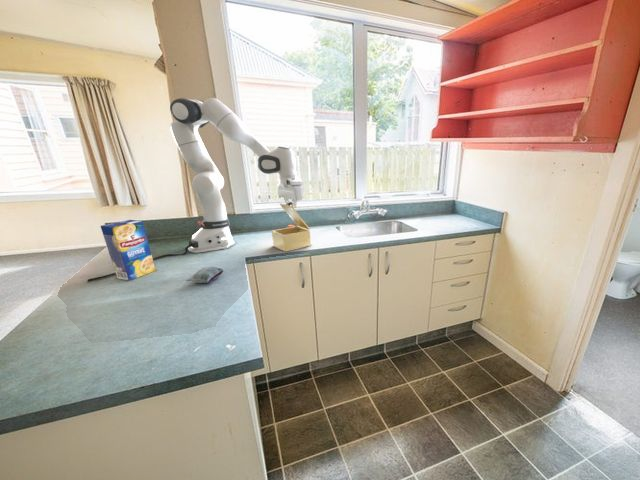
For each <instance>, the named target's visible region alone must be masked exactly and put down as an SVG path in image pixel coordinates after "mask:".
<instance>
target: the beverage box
mask: <svg viewBox="0 0 640 480" xmlns="http://www.w3.org/2000/svg"><path fill="white" fill-rule="evenodd" d="M100 229H101V233H102V235H103V238H104V242H105V244H106V248H107V251H108V254H109V257H110V260H111V264H112V266H113V269H114V273H116V275H115V276H116V278H117V279H119V280H123V281H124V280H125V281H132V280H135V279H138V278H140V277H142V276H145V275H148V274H150V273H153V272H156V271H157V270H156V266H155V262H154V260H153V258H154V257H153V255H152V251H151V247H150V244H149V239H148V236H147V232H146V229H145V225H144V222H143V220H136V219H128V220H123V221H117V222H112V223H107V224H103V225H100Z"/></svg>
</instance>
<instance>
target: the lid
mask: <svg viewBox="0 0 640 480" xmlns="http://www.w3.org/2000/svg"><path fill="white" fill-rule="evenodd" d="M292 204H293V202H292V201H289V204H288V205H286V203H285V204H284V203H279V205H280V207H281V208H282V209H283V210H284V212H286V214H287V215H288V216H289V218H290V219H291V220H292V222H293V223H294V225H295V226H299V227H302V228H304V229H307V230H310V231H311V227H309V226H308V224H307V222H305V221H304V219H303V218H302V217H301V215H300V214H299V212H298V211H297V209H296V208H293V207H292Z"/></svg>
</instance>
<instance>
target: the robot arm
mask: <svg viewBox="0 0 640 480" xmlns="http://www.w3.org/2000/svg"><path fill="white" fill-rule="evenodd" d="M169 111H170V114H171V116H172V117H173V118H174V120H173V121H171V123H170V131H171V134H172V137H173V140H174V142H175V144H176V146H177V149H178V150H179V153H180V154H181V156H182V158H183V161H184V162H185V163H186V165H187V166H188V167H189V168H190V169H191V171H193V173H194V174H195V176H194V177H193V179H192V180H191V187H192V189H193V190H194V192H195V194H196V196H197V199H198V202H199V204H200V207H201V212H202V217H203V220H202V221H201V220H198V221H197V225H198V226H200V228H199V230H197V231H196V232H195V233H194V234H192V236H191V240H188V245H187V246H186V247H185V249H184V250H185V252H183V253H167V254H162V255H158V256H155V257H152V258H153V261H154V260H158V259H160V258H165V257H175V256H183V255H186V254H188V251H189V252H190V253H193V254H199V253H205V252H206V253H207V252H212V251H213V252H214V251H219V250H225V249H226V250H227V249H229V248H230V247H232V246H233V245H235V243H236V242H235V240H234V239H233V235H232V233H231V229H230V228H231V225H230V220H229V218H228V214H227V208H226V203H225V201H224V199H223V196H222V192H221V190H222V189H223V188H224V186H225V179H224V176H223V175H222V174H221V173H220V171H219V169H218V167H217V166H216V164H215V163H214V161H213V159H212V158H211V156H210V154H209V152H208V150H207V148H206V146H205V144H204V141H203V139H202V137H201V135H200V133H199V128H200V129H201V128H204V127H205V126H206V125H208V124H209V123H210V124H211V125H212V126H214V127H215V128H216V129H217V130H218V131H219V132H220V133H221V134H222V135H223V136H224V137H226V138H227V139H229V140H231V141H233V142H236V143H240V144H241V145H244V146H246V147H247V148H248V149H250V150H251V151H252V152H253V153H254V154H255V155H256V156H258V158H257V160H256V162H257V163H256V164H257V168H258V169H259V170H260V172H262V173H263V174H266V175H271V174H278V183H277V195H278V197H280V198H283V201H284V202H285V205H288V204H289V202H290V200H291V202H293V204H292V205H291V206H292V207H293V208H294V209H296V208H297V203H298V201H302V200H303V199H304V190H303V186H302V185H303V180H302V179H300V178H299V177H298V174H297V171H296V170H297V169H296V166H297V162H296V156H295V152H294V151H293V149H292V148H289V147H285V146H277V147H276V148H275V149H273V150H270V149H269V148H268V147H267V146H266V145H264V144H263V142H261V140H259V139H258V138H257V137H256V135H254V134H253V133H252V132H251V130H250V129H249V128H248V127H247V126H246V125H245V123H244V122H243V121H242V120H241V119H240V117H239V116H237V115H236V114H235V112H234V111H232V109H231V108H229V107H228V106H227V105H226V104H225V103H223V102H222V101H220V100H219V99H218V98H217V97H209V98H207V99H205V100H201V99H195V98H184V97H183V98H182V97H180V98H176V99H173V100H172V102H171V103H170V105H169ZM112 276H113V277H114V276H116V273H115V272H112V273H109V274H105V275H101V276H96V277H92V278H88V279H87V282H92V281H97V280H101V279H104V278H105V279H106V278H110V277H112Z"/></svg>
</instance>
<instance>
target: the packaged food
mask: <svg viewBox="0 0 640 480" xmlns="http://www.w3.org/2000/svg"><path fill="white" fill-rule="evenodd" d="M223 272H224V269H223V268H221V267H217V266H206V267H202V268H201V269H199V270H198V271H196V272H195V273H194V274H192V275H191V276H190V277H189V278H188V279H185V281H186V282H189V283H190V282H191V283H196V284H197V283H198V284H210V283H212V282H213V281H214V280H216V279H217V278H218V277H220V276H221V275H222V274H223Z"/></svg>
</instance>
